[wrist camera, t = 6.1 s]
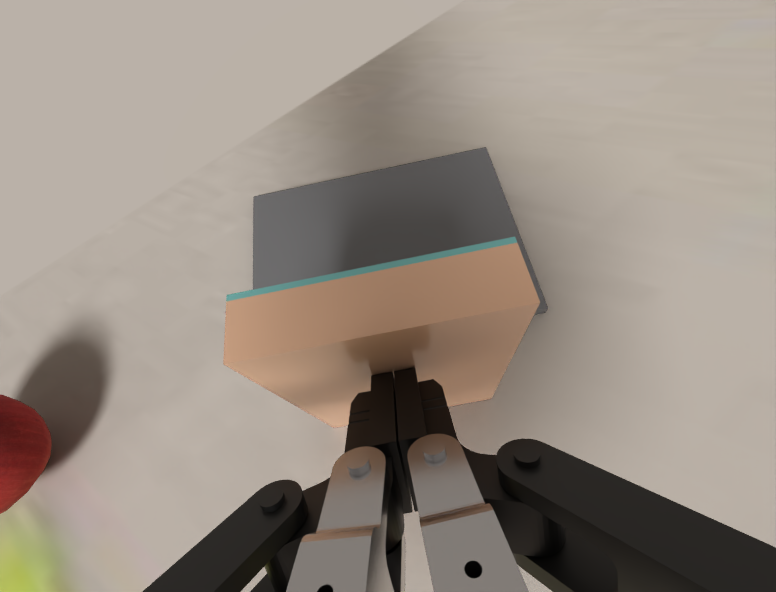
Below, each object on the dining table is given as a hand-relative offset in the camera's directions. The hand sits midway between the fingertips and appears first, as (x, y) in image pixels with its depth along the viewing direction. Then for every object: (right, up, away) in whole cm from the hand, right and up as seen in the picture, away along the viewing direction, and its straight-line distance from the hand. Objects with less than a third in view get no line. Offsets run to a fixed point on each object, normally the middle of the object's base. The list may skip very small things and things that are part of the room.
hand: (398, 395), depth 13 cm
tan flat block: (+1, -2, +7) cm, 7 cm away
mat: (-1, +6, +11) cm, 12 cm away
